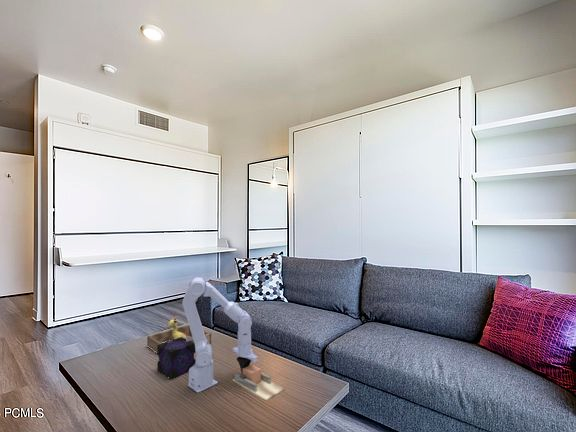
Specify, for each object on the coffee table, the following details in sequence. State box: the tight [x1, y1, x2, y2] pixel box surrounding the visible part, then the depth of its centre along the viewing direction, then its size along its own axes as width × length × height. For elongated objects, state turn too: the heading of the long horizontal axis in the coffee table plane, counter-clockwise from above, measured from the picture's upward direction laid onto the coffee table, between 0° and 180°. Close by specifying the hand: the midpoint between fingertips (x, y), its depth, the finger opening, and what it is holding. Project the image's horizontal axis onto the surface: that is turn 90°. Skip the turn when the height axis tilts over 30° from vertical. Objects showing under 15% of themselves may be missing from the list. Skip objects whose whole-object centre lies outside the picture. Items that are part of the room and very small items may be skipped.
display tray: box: [146, 324, 212, 352], centre depth 163 cm, size 25×23×6 cm
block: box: [242, 363, 262, 383], centre depth 126 cm, size 5×6×5 cm
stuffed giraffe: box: [166, 316, 193, 343], centre depth 163 cm, size 16×18×16 cm
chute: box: [231, 371, 285, 402], centre depth 123 cm, size 10×21×4 cm, turn 48°
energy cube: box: [156, 337, 196, 380], centre depth 137 cm, size 12×12×12 cm
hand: (244, 373), depth 129 cm, fingers closed
